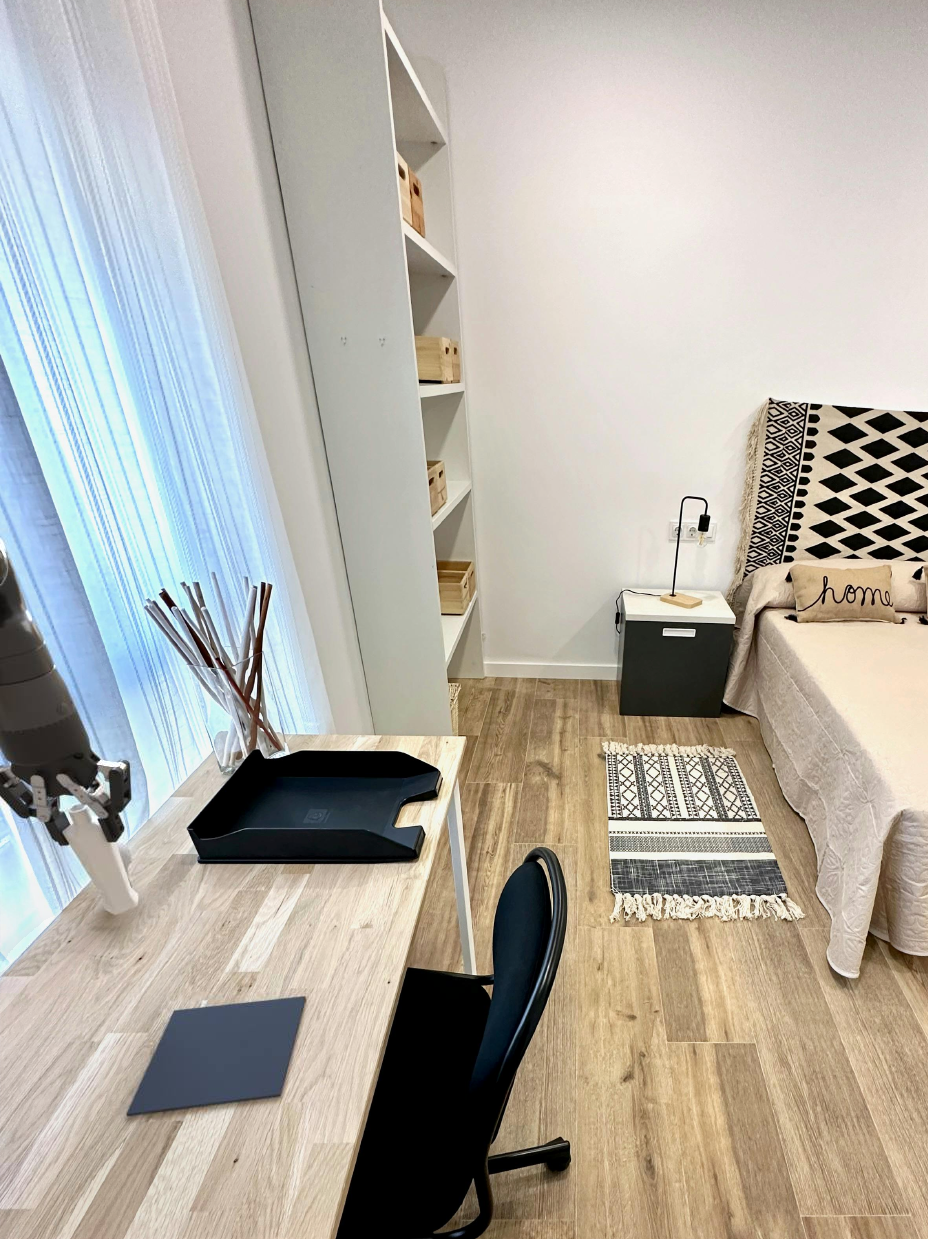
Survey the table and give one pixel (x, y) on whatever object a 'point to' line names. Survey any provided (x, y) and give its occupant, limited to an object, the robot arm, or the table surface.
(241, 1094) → the cloth
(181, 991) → the table surface
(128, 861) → the light bulb
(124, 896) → the perfume bottle
